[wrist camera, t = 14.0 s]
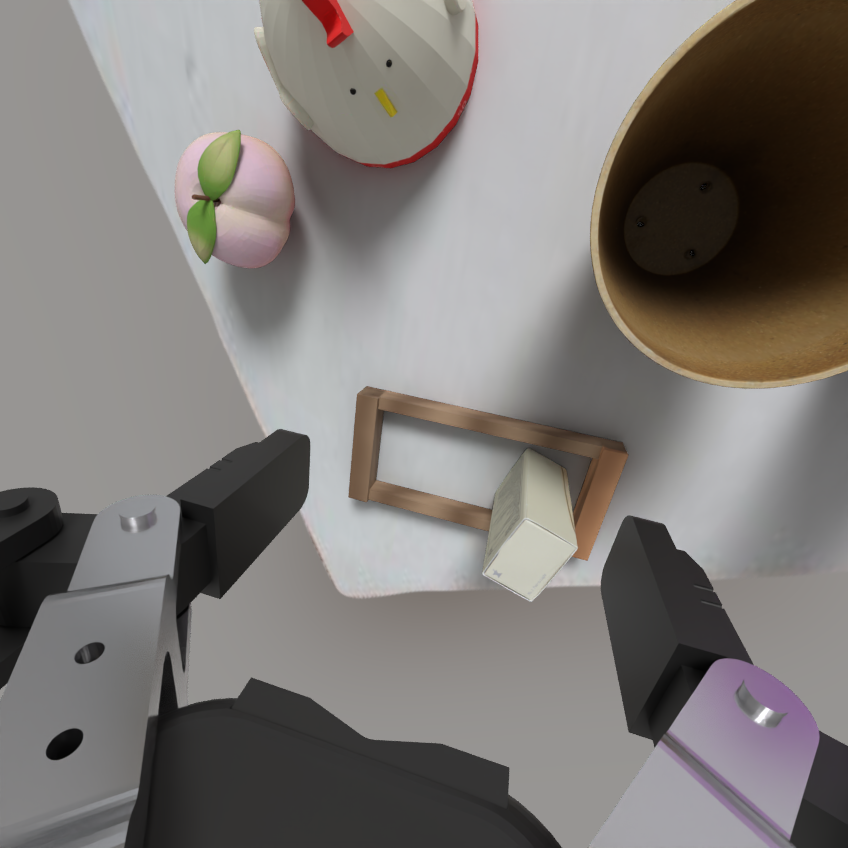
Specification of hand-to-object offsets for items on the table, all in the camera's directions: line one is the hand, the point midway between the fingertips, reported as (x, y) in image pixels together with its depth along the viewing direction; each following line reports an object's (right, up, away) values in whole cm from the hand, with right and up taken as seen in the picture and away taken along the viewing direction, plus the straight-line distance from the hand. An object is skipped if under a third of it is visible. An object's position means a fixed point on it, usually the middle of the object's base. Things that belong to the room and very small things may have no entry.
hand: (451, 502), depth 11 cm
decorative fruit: (-14, +21, +26) cm, 36 cm away
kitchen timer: (-4, +29, +21) cm, 36 cm away
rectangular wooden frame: (+4, -2, +31) cm, 31 cm away
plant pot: (+17, +16, +20) cm, 31 cm away
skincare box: (+10, -3, +30) cm, 32 cm away
